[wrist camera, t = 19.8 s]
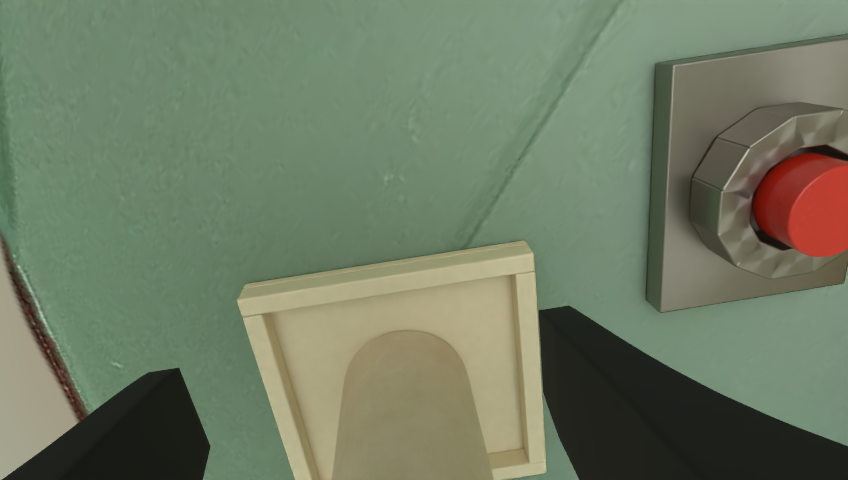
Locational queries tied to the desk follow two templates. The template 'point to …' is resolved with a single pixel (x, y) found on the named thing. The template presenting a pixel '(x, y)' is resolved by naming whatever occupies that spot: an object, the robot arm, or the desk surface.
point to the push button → (806, 204)
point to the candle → (409, 414)
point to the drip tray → (403, 311)
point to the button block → (738, 168)
